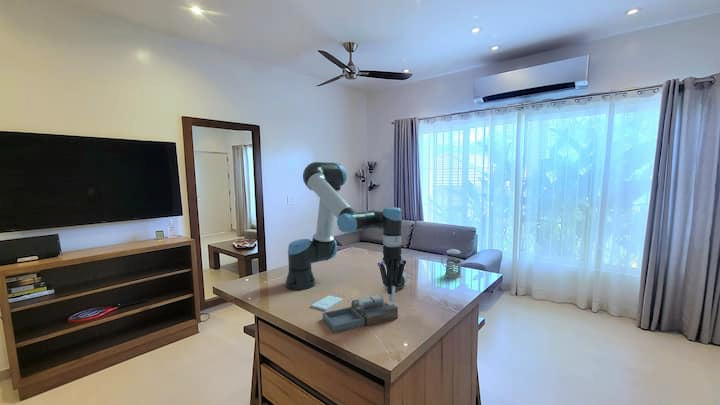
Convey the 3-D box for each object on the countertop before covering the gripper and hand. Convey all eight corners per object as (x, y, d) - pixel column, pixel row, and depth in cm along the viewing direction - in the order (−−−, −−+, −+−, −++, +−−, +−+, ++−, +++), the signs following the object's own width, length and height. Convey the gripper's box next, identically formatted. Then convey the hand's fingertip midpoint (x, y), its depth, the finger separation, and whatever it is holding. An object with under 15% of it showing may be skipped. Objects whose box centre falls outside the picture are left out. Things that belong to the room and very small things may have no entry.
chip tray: (322, 319, 115) (322, 312, 115) (351, 312, 121) (351, 306, 121) (333, 332, 105) (333, 326, 105) (364, 325, 110) (364, 318, 110)
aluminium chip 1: (359, 308, 118) (358, 298, 118) (367, 306, 120) (367, 296, 119) (363, 312, 114) (363, 302, 114) (372, 310, 116) (372, 300, 116)
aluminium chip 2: (370, 306, 120) (369, 296, 120) (378, 304, 122) (378, 294, 122) (374, 309, 117) (374, 299, 116) (383, 307, 118) (383, 298, 118)
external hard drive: (342, 302, 133) (325, 312, 123) (328, 298, 137) (310, 308, 127) (342, 298, 133) (325, 308, 122) (328, 295, 137) (310, 304, 127)
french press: (464, 278, 163) (465, 233, 161) (443, 278, 163) (444, 233, 161) (459, 272, 173) (459, 230, 171) (439, 272, 173) (439, 230, 171)
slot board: (351, 311, 122) (351, 300, 122) (379, 305, 128) (379, 295, 128) (367, 325, 110) (367, 314, 109) (397, 318, 116) (397, 307, 115)
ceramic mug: (407, 283, 155) (407, 269, 154) (405, 289, 147) (404, 274, 147) (388, 282, 158) (388, 268, 158) (384, 287, 150) (384, 272, 150)
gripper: (383, 248, 115) (383, 307, 116) (410, 245, 120) (410, 301, 122) (373, 245, 121) (374, 300, 123) (400, 241, 127) (399, 295, 129)
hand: (392, 300), depth 123 cm, fingers closed
